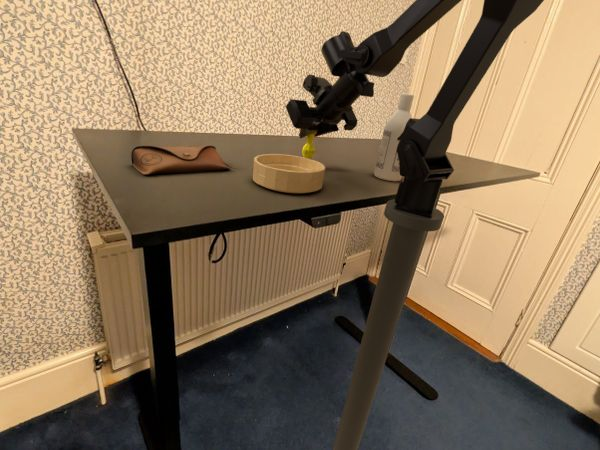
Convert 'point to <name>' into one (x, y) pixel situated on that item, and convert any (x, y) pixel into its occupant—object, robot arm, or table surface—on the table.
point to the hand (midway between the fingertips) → (304, 136)
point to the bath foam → (393, 141)
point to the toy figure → (309, 147)
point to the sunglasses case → (176, 159)
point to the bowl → (288, 173)
